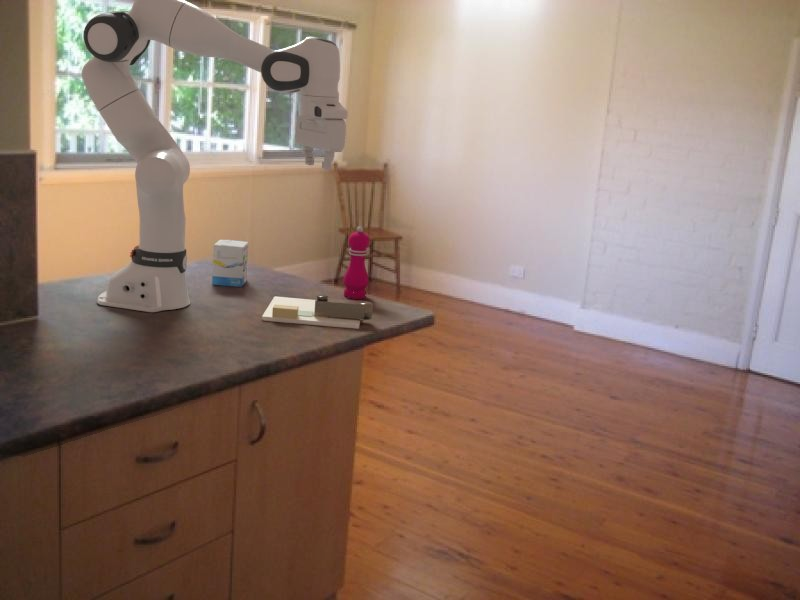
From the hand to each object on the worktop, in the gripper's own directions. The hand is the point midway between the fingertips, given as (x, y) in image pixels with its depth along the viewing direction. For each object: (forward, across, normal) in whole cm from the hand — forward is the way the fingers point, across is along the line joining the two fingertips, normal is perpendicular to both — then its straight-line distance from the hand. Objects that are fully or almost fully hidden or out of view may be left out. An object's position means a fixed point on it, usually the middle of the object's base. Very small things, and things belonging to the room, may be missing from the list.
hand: (317, 167), depth 211 cm
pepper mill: (+39, -19, +22) cm, 48 cm away
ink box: (+38, -40, -7) cm, 55 cm away
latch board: (+38, -5, +3) cm, 39 cm away
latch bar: (+37, +3, +7) cm, 38 cm away
